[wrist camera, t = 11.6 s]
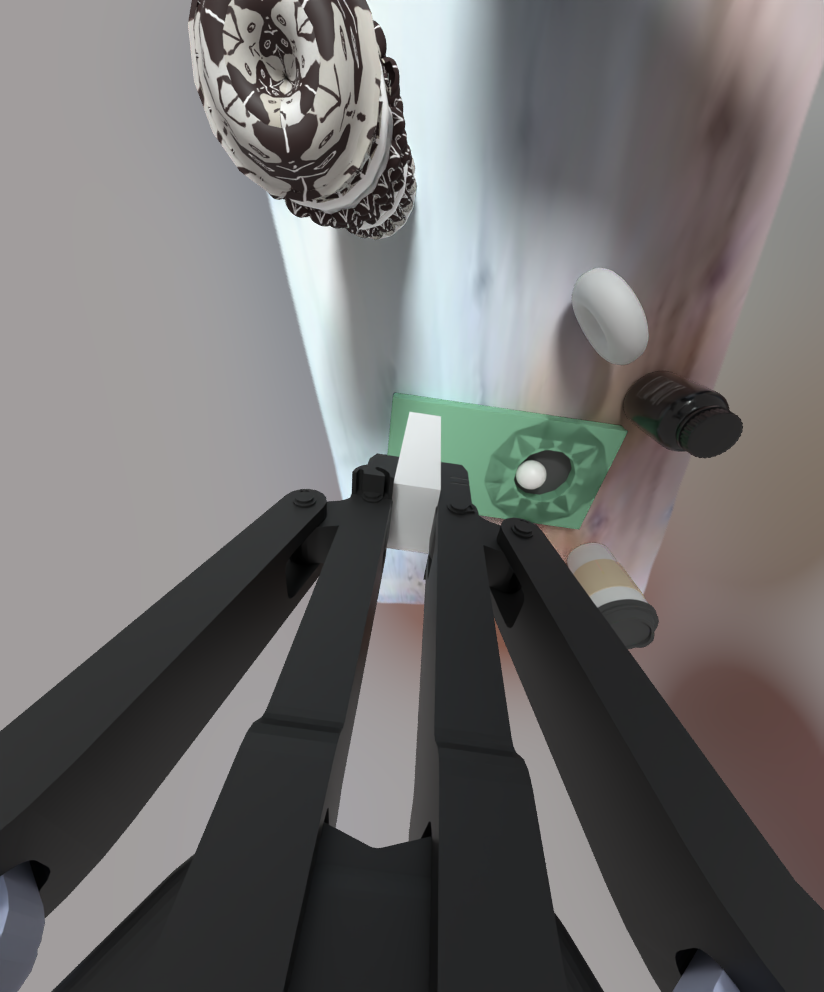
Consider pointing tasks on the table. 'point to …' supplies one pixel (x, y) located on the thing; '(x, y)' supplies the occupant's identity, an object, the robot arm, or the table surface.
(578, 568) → the coffee cup
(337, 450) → the table surface
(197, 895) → the robot arm
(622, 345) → the donut
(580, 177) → the table surface
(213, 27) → the decorative candle
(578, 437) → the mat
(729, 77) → the table surface
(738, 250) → the table surface
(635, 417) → the supplement bottle
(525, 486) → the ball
